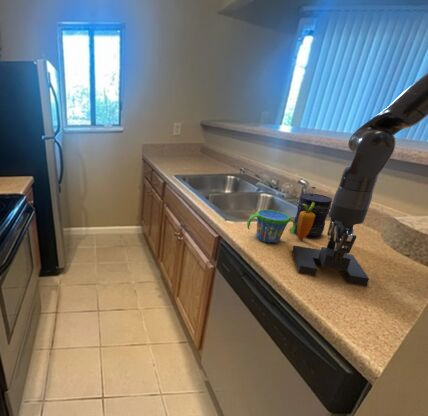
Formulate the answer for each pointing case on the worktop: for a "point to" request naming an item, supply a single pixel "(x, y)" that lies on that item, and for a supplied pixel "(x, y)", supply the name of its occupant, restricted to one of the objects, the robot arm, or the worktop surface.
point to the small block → (326, 261)
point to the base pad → (309, 260)
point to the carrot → (305, 221)
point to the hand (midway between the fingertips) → (332, 256)
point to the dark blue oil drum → (319, 210)
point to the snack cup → (271, 225)
